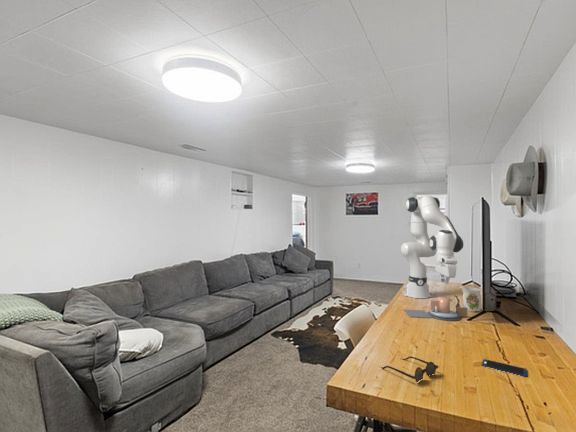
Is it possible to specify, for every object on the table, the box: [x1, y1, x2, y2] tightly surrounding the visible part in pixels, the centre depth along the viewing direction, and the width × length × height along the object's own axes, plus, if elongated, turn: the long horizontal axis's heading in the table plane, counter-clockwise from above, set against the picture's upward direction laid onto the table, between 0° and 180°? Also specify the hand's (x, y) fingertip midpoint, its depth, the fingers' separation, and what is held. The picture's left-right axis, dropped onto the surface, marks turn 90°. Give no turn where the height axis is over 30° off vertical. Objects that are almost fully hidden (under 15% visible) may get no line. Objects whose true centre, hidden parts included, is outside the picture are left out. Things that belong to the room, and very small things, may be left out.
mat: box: [402, 309, 433, 319], centre depth 186 cm, size 14×12×1 cm
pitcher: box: [458, 285, 482, 312], centre depth 196 cm, size 11×18×14 cm, turn 61°
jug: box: [429, 296, 453, 314], centre depth 183 cm, size 6×12×8 cm, turn 86°
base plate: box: [427, 311, 462, 322], centre depth 183 cm, size 17×17×1 cm
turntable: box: [429, 306, 468, 319], centre depth 183 cm, size 20×14×5 cm
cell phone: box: [481, 358, 528, 378], centre depth 119 cm, size 7×14×1 cm, turn 54°
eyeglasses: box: [380, 355, 439, 383], centre depth 116 cm, size 15×15×5 cm
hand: (444, 282), depth 183 cm, fingers open, 4 cm apart
